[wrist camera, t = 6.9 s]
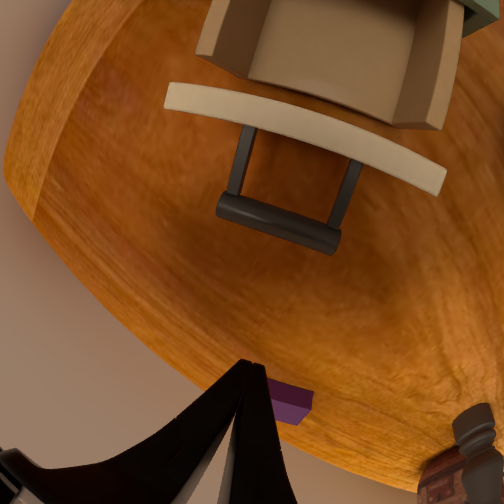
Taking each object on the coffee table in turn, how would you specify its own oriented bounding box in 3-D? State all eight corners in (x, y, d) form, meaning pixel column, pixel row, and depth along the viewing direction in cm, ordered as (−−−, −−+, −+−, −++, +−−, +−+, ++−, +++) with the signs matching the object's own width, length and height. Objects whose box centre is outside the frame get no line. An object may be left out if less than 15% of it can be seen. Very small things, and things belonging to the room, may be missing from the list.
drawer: (367, 240, 17) (386, 300, 11) (202, 184, 18) (145, 216, 12) (437, 0, 8) (478, -40, 2) (272, -49, 9) (246, -105, 3)
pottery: (397, 478, 34) (393, 552, 18) (442, 440, 26) (448, 539, 10) (464, 466, 30) (468, 531, 14) (513, 423, 22) (528, 502, 7)
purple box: (313, 391, 25) (311, 410, 23) (299, 408, 27) (296, 425, 25) (244, 370, 26) (237, 388, 24) (236, 389, 28) (230, 405, 26)
